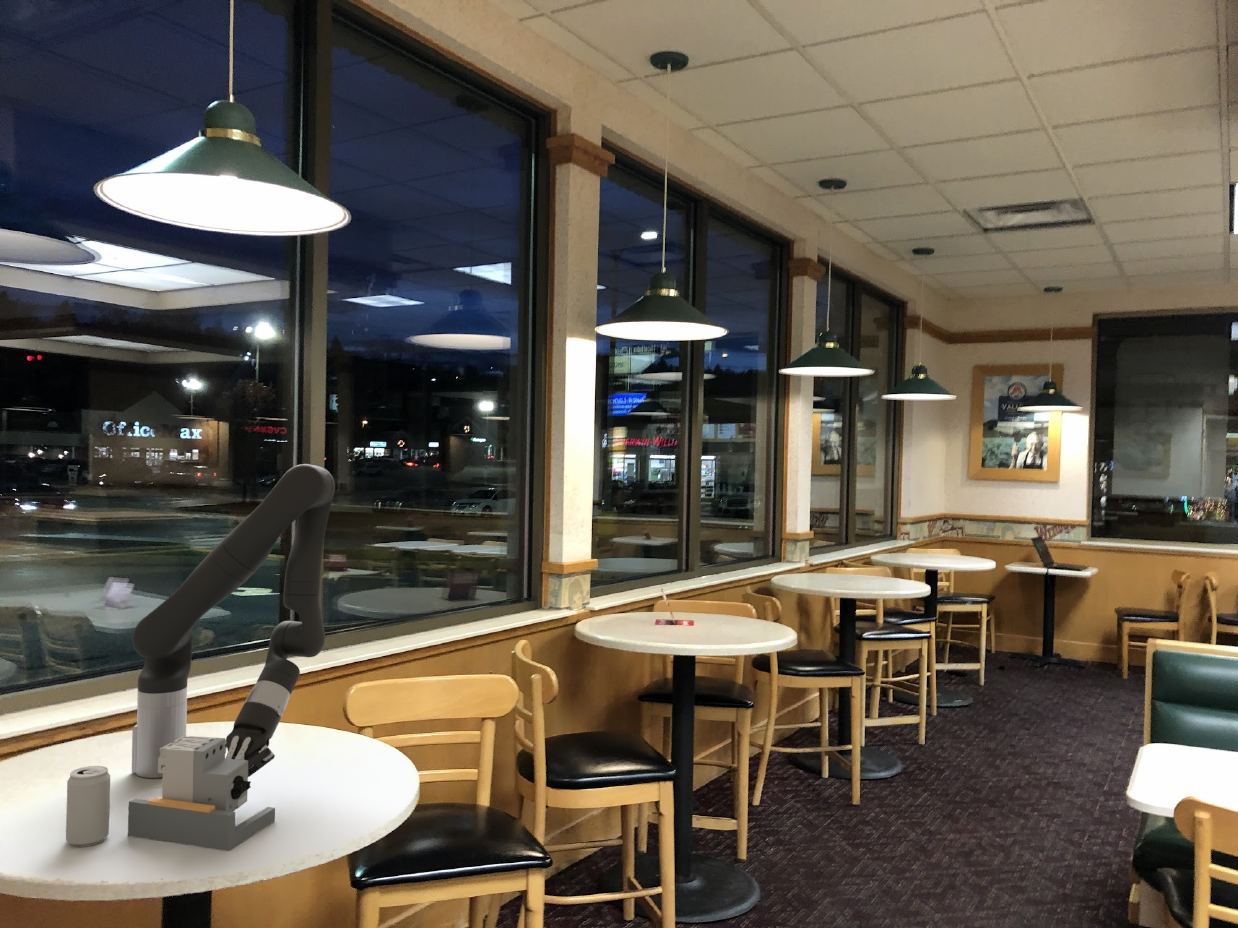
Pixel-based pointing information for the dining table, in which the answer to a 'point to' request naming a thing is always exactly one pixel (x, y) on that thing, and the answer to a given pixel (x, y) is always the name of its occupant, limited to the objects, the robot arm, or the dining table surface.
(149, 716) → the robot arm
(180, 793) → the circuit breaker
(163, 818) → the breaker bay
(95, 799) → the beverage can
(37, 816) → the dining table surface
